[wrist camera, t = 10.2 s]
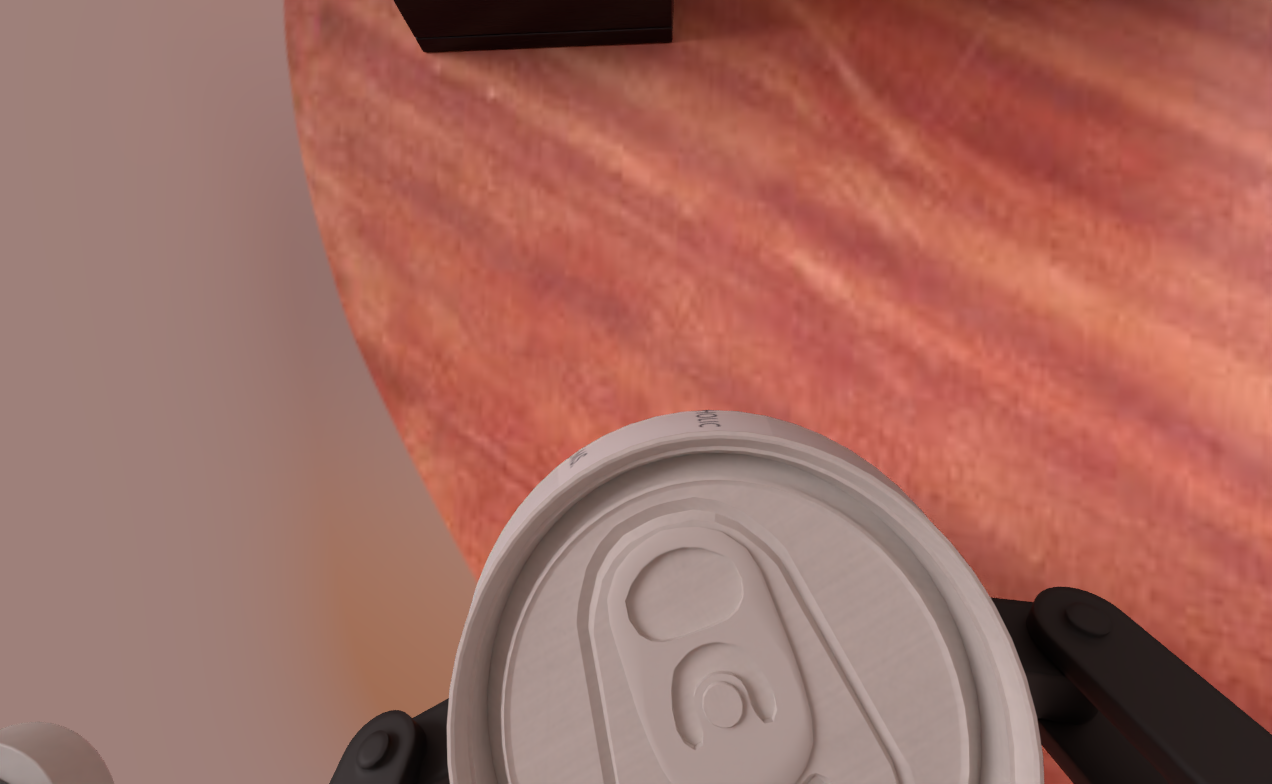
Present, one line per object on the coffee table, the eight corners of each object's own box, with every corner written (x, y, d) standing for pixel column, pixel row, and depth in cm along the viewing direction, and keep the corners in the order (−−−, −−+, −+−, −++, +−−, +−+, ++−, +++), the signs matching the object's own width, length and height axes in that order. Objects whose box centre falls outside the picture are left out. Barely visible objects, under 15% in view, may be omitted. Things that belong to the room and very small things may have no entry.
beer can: (643, 643, 18) (504, 1287, 3) (595, 494, 19) (347, 509, 5) (788, 590, 18) (1266, 1023, 3) (729, 445, 19) (890, 308, 5)
